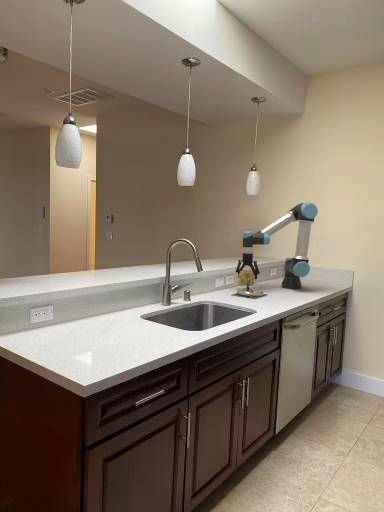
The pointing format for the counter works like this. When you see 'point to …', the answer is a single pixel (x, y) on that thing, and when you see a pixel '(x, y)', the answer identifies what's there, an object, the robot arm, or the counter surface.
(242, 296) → the base plate
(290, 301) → the counter surface
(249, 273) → the cheese
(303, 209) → the robot arm
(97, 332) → the counter surface
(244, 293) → the metal dish with post
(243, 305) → the counter surface
